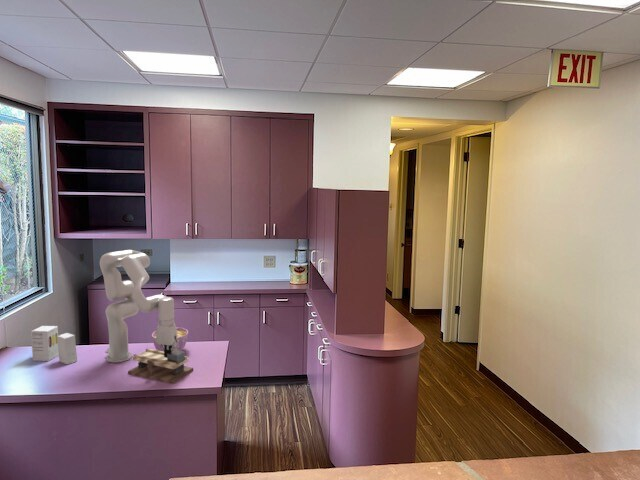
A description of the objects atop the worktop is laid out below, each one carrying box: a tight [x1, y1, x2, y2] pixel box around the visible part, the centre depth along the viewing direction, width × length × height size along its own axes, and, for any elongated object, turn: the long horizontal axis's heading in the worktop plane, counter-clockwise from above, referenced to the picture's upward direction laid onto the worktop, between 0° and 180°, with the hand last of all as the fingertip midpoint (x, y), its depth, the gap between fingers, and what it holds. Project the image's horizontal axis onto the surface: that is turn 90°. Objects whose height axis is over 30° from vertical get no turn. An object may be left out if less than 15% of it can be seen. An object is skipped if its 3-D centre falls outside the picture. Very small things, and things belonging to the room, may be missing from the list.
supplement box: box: [30, 325, 59, 362], centre depth 236 cm, size 10×9×17 cm
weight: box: [167, 350, 186, 364], centre depth 217 cm, size 6×6×4 cm
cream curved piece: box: [132, 347, 189, 369], centre depth 221 cm, size 26×14×3 cm, turn 69°
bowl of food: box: [151, 326, 189, 352], centre depth 247 cm, size 20×20×12 cm
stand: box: [127, 350, 194, 384], centre depth 221 cm, size 28×16×9 cm, turn 69°
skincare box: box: [57, 332, 78, 365], centre depth 231 cm, size 8×6×15 cm
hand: (167, 356), depth 219 cm, fingers closed
